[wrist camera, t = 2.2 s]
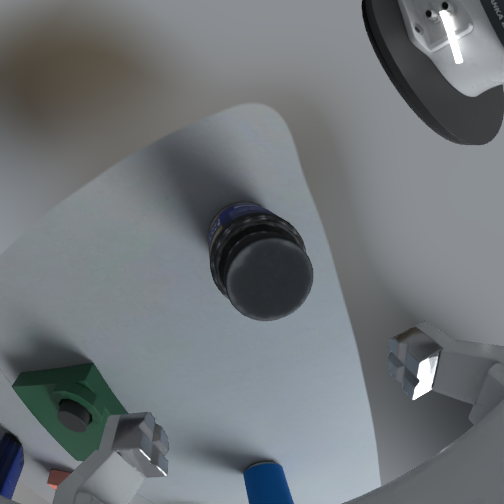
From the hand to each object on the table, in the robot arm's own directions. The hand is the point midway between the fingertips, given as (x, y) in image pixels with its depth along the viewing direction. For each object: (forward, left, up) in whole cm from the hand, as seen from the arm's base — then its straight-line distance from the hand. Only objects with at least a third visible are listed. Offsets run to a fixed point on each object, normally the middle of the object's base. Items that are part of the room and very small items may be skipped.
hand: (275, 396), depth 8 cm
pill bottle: (-1, +2, -18) cm, 18 cm away
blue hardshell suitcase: (+27, -55, -18) cm, 64 cm away
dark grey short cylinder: (+11, -21, -13) cm, 28 cm away
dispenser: (+16, -25, -18) cm, 35 cm away
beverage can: (+37, -5, -18) cm, 42 cm away
